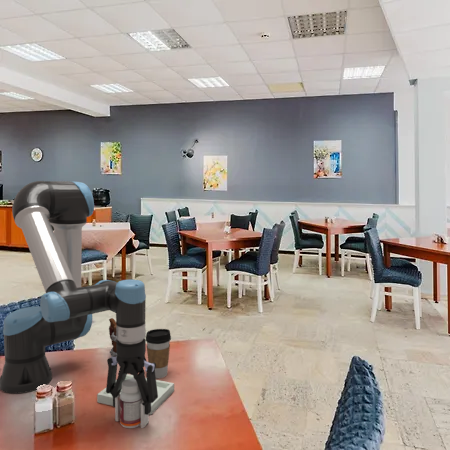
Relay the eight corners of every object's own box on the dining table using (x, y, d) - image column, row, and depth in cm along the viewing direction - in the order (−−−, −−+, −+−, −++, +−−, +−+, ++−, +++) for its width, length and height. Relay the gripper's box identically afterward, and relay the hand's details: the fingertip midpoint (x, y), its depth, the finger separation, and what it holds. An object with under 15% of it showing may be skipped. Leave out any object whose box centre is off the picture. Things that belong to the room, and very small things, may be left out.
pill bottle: (122, 416, 111) (121, 377, 110) (144, 415, 112) (144, 376, 110) (118, 429, 105) (117, 388, 104) (142, 428, 105) (142, 387, 104)
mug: (126, 365, 141) (120, 323, 141) (100, 362, 150) (95, 322, 150) (150, 354, 151) (145, 315, 151) (125, 351, 159) (120, 314, 159)
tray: (97, 402, 118) (97, 394, 118) (124, 380, 131) (124, 373, 131) (151, 414, 112) (151, 406, 112) (174, 390, 125) (174, 383, 125)
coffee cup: (166, 381, 131) (166, 337, 129) (141, 378, 133) (141, 334, 131) (174, 370, 139) (174, 328, 138) (151, 367, 141) (151, 326, 139)
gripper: (90, 338, 106) (92, 421, 108) (157, 350, 99) (158, 437, 101) (107, 329, 113) (109, 407, 115) (171, 339, 106) (171, 421, 108)
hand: (131, 421), depth 108 cm, fingers open, 7 cm apart
